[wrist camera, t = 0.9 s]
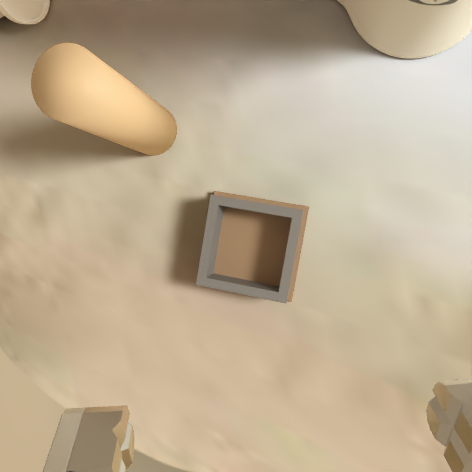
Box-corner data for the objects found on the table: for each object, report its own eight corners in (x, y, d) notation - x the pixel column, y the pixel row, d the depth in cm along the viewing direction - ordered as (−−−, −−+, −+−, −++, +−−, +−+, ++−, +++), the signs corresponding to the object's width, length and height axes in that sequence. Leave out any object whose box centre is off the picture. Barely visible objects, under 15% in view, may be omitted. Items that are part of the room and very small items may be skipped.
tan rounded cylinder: (133, 102, 50) (36, 39, 32) (180, 108, 49) (106, 46, 31) (126, 151, 50) (26, 116, 32) (172, 158, 49) (95, 126, 31)
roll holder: (216, 191, 48) (207, 188, 44) (309, 207, 46) (309, 206, 42) (201, 281, 49) (190, 288, 45) (291, 300, 47) (290, 309, 43)
